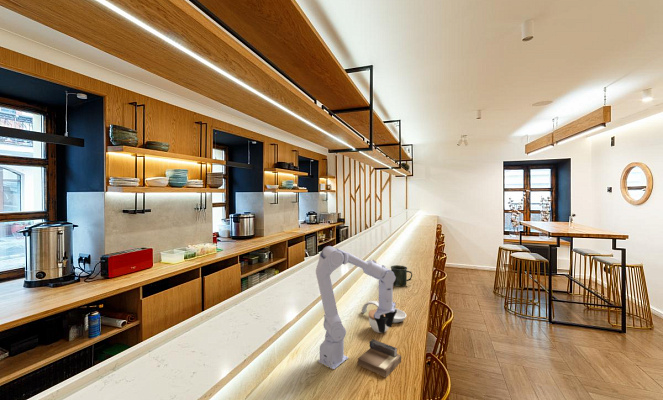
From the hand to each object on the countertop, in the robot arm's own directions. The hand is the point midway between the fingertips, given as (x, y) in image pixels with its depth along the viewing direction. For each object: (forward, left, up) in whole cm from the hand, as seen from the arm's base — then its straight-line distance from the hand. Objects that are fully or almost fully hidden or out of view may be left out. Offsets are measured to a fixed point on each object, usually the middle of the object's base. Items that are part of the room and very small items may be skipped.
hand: (385, 329), depth 120 cm
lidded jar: (+13, +10, -9) cm, 19 cm away
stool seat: (-10, -3, -8) cm, 13 cm away
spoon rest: (+26, +15, -9) cm, 31 cm away
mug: (+78, +30, -9) cm, 84 cm away
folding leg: (-6, -2, -6) cm, 9 cm away
